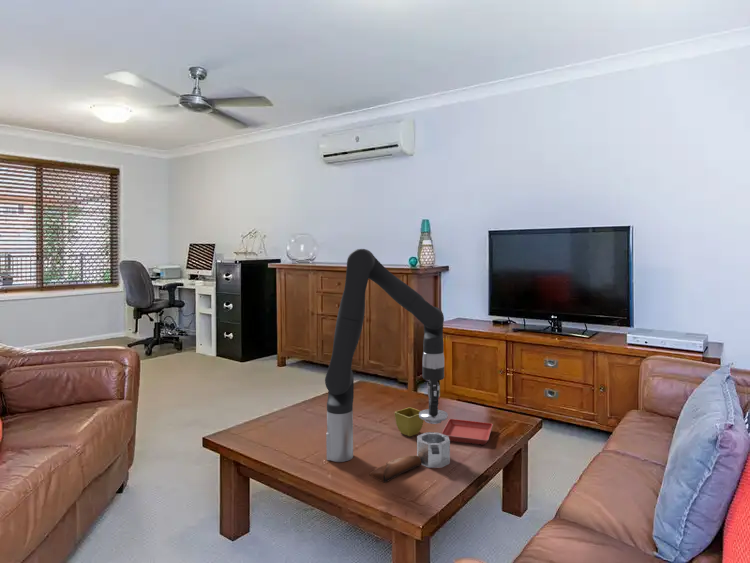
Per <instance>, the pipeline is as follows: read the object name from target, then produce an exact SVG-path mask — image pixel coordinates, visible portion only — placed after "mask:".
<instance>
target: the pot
mask: <svg viewBox="0 0 750 563" xmlns="http://www.w3.org/2000/svg"><path fill="white" fill-rule="evenodd" d="M441 433H442V432H441ZM441 433H440V432H434V431H428V432H424V433H421V434H419V435H418V434H417V436H416V456H418V457H419V458H420V459H421V466H424V467H426V468H429V469H430V468H433V469H434V468H436V469H437V468H442V469H443V468H444V467H446V466H448V465H449V464H450V463H451V441H450V440H449V437H448V436H446V435H444V434H441Z"/></svg>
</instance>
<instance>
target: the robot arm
mask: <svg viewBox="0 0 750 563" xmlns="http://www.w3.org/2000/svg"><path fill="white" fill-rule="evenodd" d="M345 272H346V274H345V284H344V290H343V292H342V296H341V299H340V303H339V307H338V313H337V317H336V321H335V322H336V323H335V330H334V335H333V346H332V353H331V358H330V361H329V365H328V369H327V371H326V375H325V377H324V382H325V383H324V384H325V388H326V389H327V392H328V395H327V401H326V434H325V435H326V436H325V437H326V438H325V439H326V445H325V446H326V461H331V462H334V463H335V462H336V463H343V462H347V461H351V460H352V459H353V458H354V419H353V418H354V415H353V414H354V413H353V412H354V407H353V406H354V396H355V395H354V394H355V393H354V389H355V388H354V387H355V386H354V385H355V384H354V378H355V377H354V373H353V369H352V364H353V358H354V355H355V352H356V349H357V346H358V343H359V341H360V339H361V338H360V337H361V334H362V329H363V325H364V320H365V314H366V312H365V310H366V289H367V285H368V283H369V280H370V281H371V282H373V283H375V284H377V285H378V286H379V287H380V288H381V289H382V290H383V291H384V293H386V294H387V295H388V296H389V297H391V299H393V301H395V302H396V303H397V304H398V305H399V306H401V307H402V308H404V309H405V310H406V311H407V312H409V313H411V314H412V315H413V316H414V318H416V319H417V320H418V321H419V322H420V323H421V324H422V325H423V334H424V335H423V341H422V345H423V346H422V347H423V349H422V351H423V352H422V366H421V367H422V375H421V376H422V378H423V380H426V381H427V383H426V385H427V386H426V388H427V396H428V400H429V399H430V414H431V416H436V415H437V405H438V406H439V398H440V386H441V385H440V384H439V382H438V381H443V380H444V379H445V355H444V354H445V353H444V350H445V349H444V346H445V345H444V342H445V341H444V335H443V334H444V322H445V317H444V313H443V310H441V309H440V308H439V307H436V306H433V305H432V304H431V303H429V302H428V301H426V300H425V298H424V297H423V296H422V295H421V294H420V293H418V291H416V290H414V289H413V287H411V286H410V285H408V284H407V283H405V282H404V281H403V280H401V279H400V278H399V277H397V276H396V275H394V273H391V271H390V270H388V269H387V268H386V267H385V266H384V265H383V264H382V263H381V262H380V261H379V260H378V259H377V258H376V256H375V255H374V254H373V253H372V252H371V251H370V250H368V249H365V248H357V249H355V250H353V251H351V252H350V253H349V255H348V256H347V259H346V271H345ZM433 400H436V401H433Z"/></svg>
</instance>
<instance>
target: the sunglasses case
mask: <svg viewBox="0 0 750 563" xmlns="http://www.w3.org/2000/svg"><path fill="white" fill-rule="evenodd" d="M419 466H422V465H421V459H420V458H419V457H418V456H417V455H407V456H402V457H399V458H395V459H392V460H390V461H387V462H386V464H383V465H382V466H379V467H377V468H376V469H374V470H372V471H371V472H370V473H368V475H369V476H370V477H372V478H375V479H376V480H378V481H380V482H382V483H387V482H388V481H391V480H392V479H394V478H396V477H398V476H399V475H401V474H404V473H406V472H407V471H410V470H412V469H414V468H417V467H419Z"/></svg>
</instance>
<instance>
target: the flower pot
mask: <svg viewBox="0 0 750 563" xmlns="http://www.w3.org/2000/svg"><path fill="white" fill-rule="evenodd" d="M420 411H421V410H419V409H417V408H413V407H409V406H408V407H407V408H403V409H399V410H395V411H394V418H395V419H394V420H395V424H396V426H397V429H398V431H399V433H400V434H402V435H404V436H407V437H413V436H415V435H418V434H419V433H420V432H421V430H422V428H423V425H424V420H422V419H421V418H419V412H420Z"/></svg>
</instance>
